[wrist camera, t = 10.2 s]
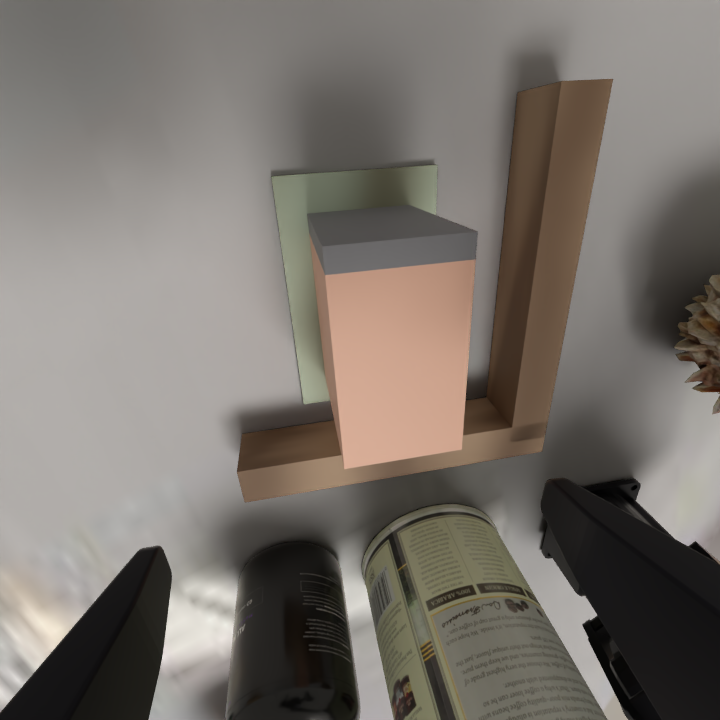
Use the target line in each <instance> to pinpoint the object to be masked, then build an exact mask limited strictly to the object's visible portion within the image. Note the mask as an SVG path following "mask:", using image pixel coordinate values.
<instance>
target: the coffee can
mask: <svg viewBox="0 0 720 720" xmlns="http://www.w3.org/2000/svg"><path fill="white" fill-rule="evenodd" d="M362 574H363V579H364V581H365V585H366V588H367V593H368V597H369V602H370V607H371V612H372V617H373V622H374V627H375V632H376V636H377V641H378V646H379V651H380V656H381V660H382V665H383V670H384V675H385V679H386V684H387V689H388V694H389V698H390V703H391V708H392V713H393V718H394V720H607V718H606V716H605V715H604V713H603V711H602V710H601V708H600V706H599V704H598V703H597V701H596V699H595V698H594V696H593V694H592V692H591V691H590V689H589V687H588V686H587V684H586V682H585V680H584V679H583V677H582V675H581V674H580V672H579V670H578V668H577V667H576V665H575V663H574V662H573V660H572V658H571V656H570V655H569V653H568V651H567V650H566V648H565V646H564V644H563V643H562V641H561V639H560V638H559V636H558V634H557V632H556V631H555V629H554V627H553V626H552V624H551V622H550V621H549V619H548V617H547V616H546V614H545V612H544V610H543V609H542V607H541V606H540V604H539V602H538V601H537V599H536V597H535V595H534V594H533V592H532V590H531V589H530V587H529V585H528V583H527V582H526V580H525V578H524V577H523V575H522V573H521V572H520V570H519V568H518V567H517V565H516V563H515V561H514V560H513V558H512V556H511V555H510V553H509V551H508V550H507V548H506V546H505V545H504V543H503V541H502V539H501V538H500V536H499V534H498V532H497V529H496V527H495V525H494V523H493V522H492V521H491V519H490V518H489V517H488V516H487V515H485V514H484V513H483V512H481V511H479V510H478V509H475V508H473V507H468V506H464V505H458V504H443V505H435V506H430V507H426V508H421V509H419V510H416V511H414V512H411V513H409V514H406V515H405V516H402V517H400V518H398V519H397V520H395V521H394V522H392V523H391V524H389V525H388V526H387V527H385V528H384V529H383V530H382V531H381V532H380V533H379V534H378V535H377V536H376V537H375V538H374V540H373V541H372V543H371V544H370V546H369V547H368V549H367V551H366V553H365V556H364V559H363V564H362Z"/></svg>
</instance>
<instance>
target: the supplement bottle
mask: <svg viewBox="0 0 720 720" xmlns="http://www.w3.org/2000/svg"><path fill="white" fill-rule="evenodd" d="M359 718H360V698H359V691H358V684H357V677H356V670H355V663H354V656H353V649H352V642H351V635H350V628H349V621H348V614H347V607H346V600H345V593H344V586H343V580H342V574H341V569H340V565H339V563H338V561H337V559H336V558H335V557H334V556H333V555H332V554H331V553H330V552H329V551H328V550H326V549H325V548H323V547H321V546H318V545H315V544H311V543H306V542H289V543H283V544H278V545H275V546H272V547H270V548H267V549H265V550H263V551H262V552H260V553H258V554H257V555H256V556H254V557H253V558H252V559H251V560H250V561H249V562H248V563H247V564H246V566H245V567H244V569H243V570H242V573H241V575H240V578H239V582H238V591H237V599H236V609H235V620H234V630H233V640H232V651H231V661H230V671H229V682H228V692H227V702H226V713H225V720H359Z"/></svg>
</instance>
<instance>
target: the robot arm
mask: <svg viewBox="0 0 720 720" xmlns="http://www.w3.org/2000/svg"><path fill="white" fill-rule="evenodd" d="M640 486H641V484H640V483H639V482H638V481H637V480H636V479H627V480H622V481H616V482H611V483H606V484H600V485H595V486H590V487H584V488H582V487H580V486H579V485H577V484H575V483H573V482H571V481H570V480H568V479H566V478H555V479H549V480H547V482H546V483H545V487H544V491H543V496H542V500H541V510H542V513H543V515H544V517H545V520H546V522H547V524H548V525H547V529H546V534H545V538H544V543H543V547H542V553H543V555H544V556H545V558H553V560H554V561H555V562H556V564H557V565H558V567H559V568H560V570H561V571H562V573H563V574H564V576H565V577H566V579H567V580H568V582H569V583H570V585H571V586H572V588H573V589H574V591H575V592H576V593H577V594H578V595H579V596H586V598H587V599H588V601H589V602H590V604H591V605H592V607H593V608H594V610H595V612H596V613H597V616H596V617H595V618H593V619H592V620H588V621H586V622H585V623H584V624H582V625H583V627H584V629H585V631H586V633H587V635H588V637H589V638H588V640H589V642H590V644H591V646H592V648H593V650H594V652H595V654H596V656H597V658H598V660H599V662H600V664H601V666H602V668H603V670H604V672H605V674H606V676H607V678H608V680H609V682H610V684H611V686H612V688H613V690H614V692H615V694H616V696H617V698H618V700H619V702H620V704H621V707H622V710H623V712H624V714H625V716H626V717H627V718H628V720H720V561H718V560H717V559H716V558H715V557H714V556H712V555H711V554H710V553H709V552H708V551H706V550H705V549H704V548H703V547H702V546H701V545H699V544H698V543H697V542H696V541H695V542H693V543H692V544H691V545H689V546H686V545H684V544H683V543H681V542H679V541H677V540H675V539H674V538H673V537H672V536H671V535H670V534H669V533H668V532H667V531H666V530H665V529H664V528H663V527H662V526H661V525H660V524H659V523H658V522H657V521H656V520H655V519H654V518H653V517H652V516H651V515H650V514H649V513H648V512H647V511H646V510H645V509H644V508H642V507H641V506H640V505H639V504H638V503H637V502H636V498H637V495H638V492H639V489H640ZM171 581H172V573H171V569H170V566H169V563H168V561H167V558H166V556H165V553H164V550H163V549H162V547H161V546H153V547H147V548H142V549H140V550H139V551H138V552H137V553H136V554H135V555H134V556H133V557H132V558H131V560H130V561H129V562H128V563H127V564H126V566H125V567H124V568H123V569H122V570H121V571H120V573H119V574H118V575H117V576H116V577H115V578H114V580H113V581H112V582H111V583H110V584H109V585H108V587H107V588H106V589H105V590H104V591H103V593H102V594H101V595H100V596H99V597H98V598H97V600H96V601H95V602H94V603H93V604H92V605H91V607H90V608H89V609H88V610H87V611H86V613H85V614H84V615H83V616H82V617H81V618H80V620H79V621H78V622H77V623H76V624H75V625H74V627H73V628H72V629H71V630H70V631H69V633H68V634H67V635H66V636H65V637H64V638H63V640H62V641H61V642H60V643H59V644H58V645H57V647H56V648H55V649H54V650H53V651H52V652H51V654H50V655H49V656H48V657H47V658H46V660H45V661H44V662H43V663H42V664H41V665H40V667H39V668H38V669H37V670H36V671H35V672H34V674H33V675H32V676H31V677H30V678H29V680H28V681H27V682H26V683H25V684H24V685H23V687H22V688H21V689H20V690H19V691H18V692H17V694H16V695H15V696H14V697H13V698H12V699H11V701H10V702H9V703H8V704H7V705H6V707H5V708H4V709H3V710H2V711H1V712H0V720H148V719H149V714H150V710H151V706H152V701H153V697H154V692H155V688H156V684H157V679H158V675H159V670H160V665H161V660H162V654H163V647H164V639H165V631H166V623H167V615H168V606H169V598H170V590H171Z"/></svg>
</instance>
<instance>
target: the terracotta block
mask: <svg viewBox="0 0 720 720" xmlns="http://www.w3.org/2000/svg"><path fill="white" fill-rule="evenodd" d="M307 219H308V227H309V236H310V245H311V254H312V263H313V272H314V281H315V290H316V299H317V308H318V316H319V325H320V334H321V343H322V352H323V361H324V370H325V378H326V383H327V387H328V392H329V397H330V402H331V407H332V412H333V417H334V421H335V426H336V431H337V436H338V441H339V446H340V450H341V455H342V460H343V465H344V469H349V468H355V467H361V466H367V465H373V464H379V463H385V462H391V461H397V460H403V459H409V458H414V457H420V456H426V455H432V454H438V453H444V452H450V451H456V450H462V440H463V427H464V413H465V399H466V385H467V371H468V358H469V344H470V330H471V316H472V302H473V289H474V275H475V261H476V247H477V233H478V232H477V231H475V230H472V229H470V228H467V227H465V226H462V225H459V224H457V223H454V222H452V221H449V220H447V219H444V218H442V217H439V216H437V215H434V214H431V213H429V212H426V211H424V210H421V209H419V208H416V207H414V206H411V205H402V206H390V207H378V208H367V209H355V210H343V211H332V212H320V213H308V214H307Z"/></svg>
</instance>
